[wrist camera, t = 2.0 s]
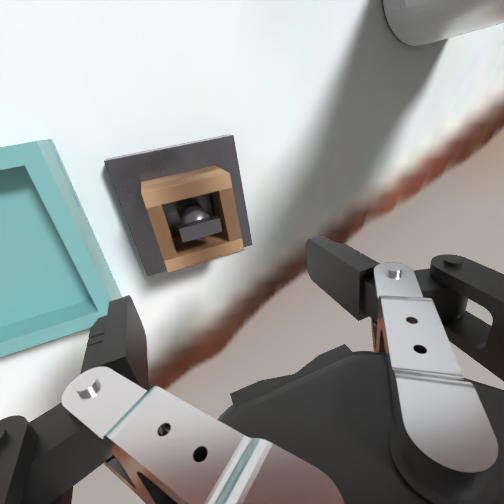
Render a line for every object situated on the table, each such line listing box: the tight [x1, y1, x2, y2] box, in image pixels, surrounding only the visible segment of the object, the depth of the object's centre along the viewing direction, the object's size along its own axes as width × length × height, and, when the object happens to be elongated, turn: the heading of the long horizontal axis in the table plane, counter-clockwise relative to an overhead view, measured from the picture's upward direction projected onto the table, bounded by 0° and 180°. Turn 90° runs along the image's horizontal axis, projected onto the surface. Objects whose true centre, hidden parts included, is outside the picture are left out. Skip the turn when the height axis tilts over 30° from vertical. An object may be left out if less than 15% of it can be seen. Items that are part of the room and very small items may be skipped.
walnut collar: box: [141, 166, 244, 273], centre depth 22 cm, size 6×6×4 cm
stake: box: [104, 135, 252, 276], centre depth 22 cm, size 10×10×7 cm
